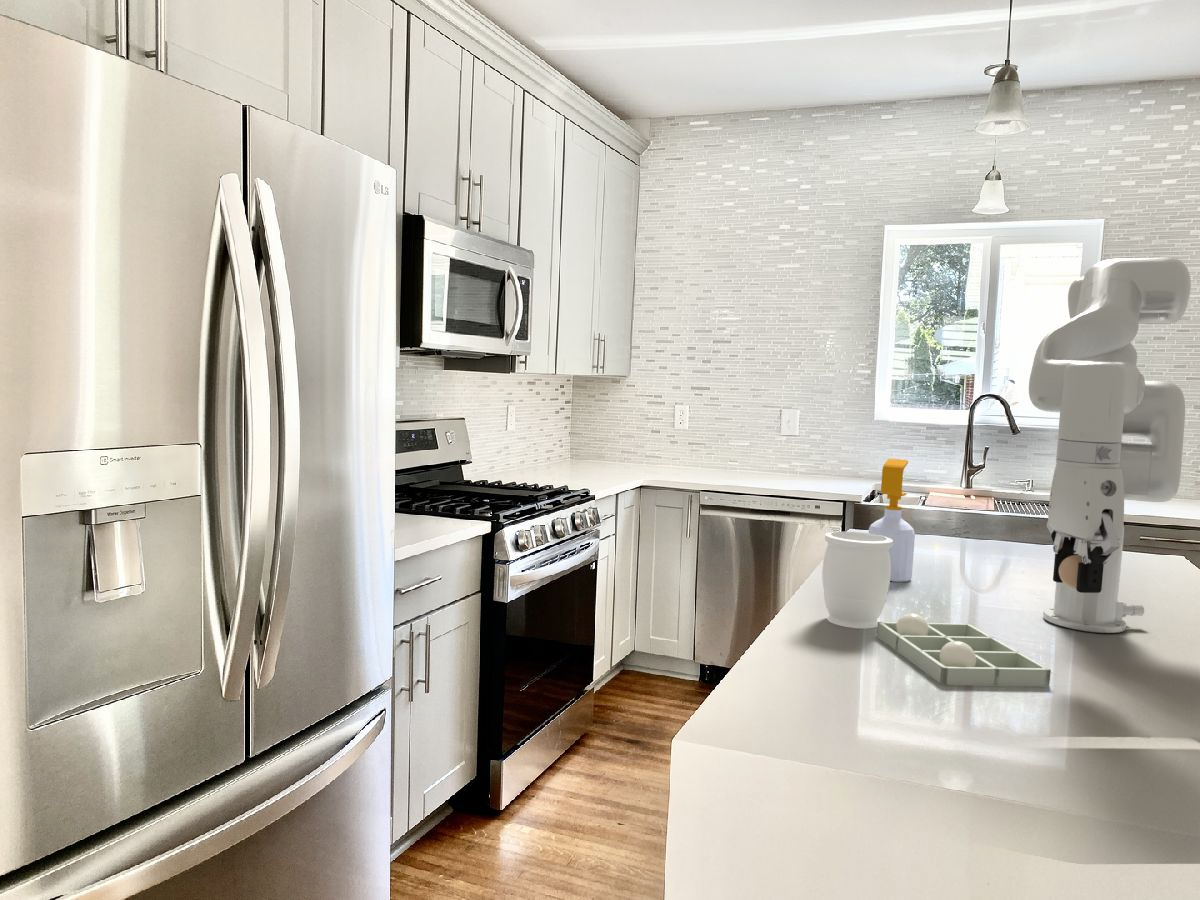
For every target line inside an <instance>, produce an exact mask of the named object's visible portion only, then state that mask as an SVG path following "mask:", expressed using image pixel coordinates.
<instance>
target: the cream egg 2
mask: <svg viewBox="0 0 1200 900" xmlns="http://www.w3.org/2000/svg"><path fill="white" fill-rule="evenodd" d="M939 660H940V663H941V664H943V665H944V666H946V667H975V665H976V655H975V653H974V651H973V649H972V648H971V647H970V646H969V645H967V644H966V643H964V642H961V641H952V642H949V643H947V644H945V645H944V646H943V647H942V649H941V651H940V654H939Z"/></svg>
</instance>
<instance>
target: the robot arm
mask: <svg viewBox="0 0 1200 900" xmlns="http://www.w3.org/2000/svg"><path fill="white" fill-rule="evenodd" d="M1190 276H1191V275H1190V271H1189V269H1188V267H1187V265H1186V264H1185V263H1184V262H1183V261H1182V260H1181V259H1180V260H1179V258H1178V259H1177V258H1174V257H1140V258H1138V257H1136V258H1134V257H1133V258H1112V259H1105V260H1102V261H1100V262H1097V263H1095V264H1094V265H1092V266H1091V267H1090V268H1089V269H1087V271H1086V273H1085V274H1084V275H1083V276H1081V277H1079V278H1076V279H1075V280H1074V281H1073V282H1072V283H1071V284H1070V286H1069V288H1068V289H1069V290H1068V295H1067V305H1068V314H1069V318H1070V319H1068V320H1067V321H1065V322H1063V323H1062V324H1060V325H1059V326H1057V327H1056V328H1054V329H1053V330H1051V331H1050V332H1049V333H1048V334H1047V335H1046V336H1045V337H1043V339H1042V340H1041V341H1040V343H1039V344H1038V347H1037V349H1036V351H1035V354H1034V358H1033V362H1032V366H1031V371H1030V376H1029V380H1028V395H1029V399H1030V401H1031V404H1032V405H1033V406H1034V407H1035V408H1036V409H1038V410H1039V411H1043V412H1047V413H1048V412H1051V413H1059V422H1058V430H1057V431H1058V434H1057V445H1056V455H1055V456H1056V458H1055V463H1056V464H1055V468H1054V472H1053V474H1052V475H1053V476H1052V482H1051V487H1050V493H1049V501H1048V512H1047V513H1048V514H1047V515H1048V516H1047V517H1048V518H1047V522H1046V528H1047V530H1048V532H1049V533H1050V535H1051V536H1050V537H1051V540H1052V542H1053V546H1052V551H1053V552H1054V563H1053V564H1054V565H1053V575H1052V581H1053V582H1055V591H1054V604H1053V607H1050V608H1047V609H1044V610H1043V615H1042V617H1043V619H1044V620H1046V621H1047V622H1048V623H1051V624H1054V625H1056V626H1060V627H1063V628H1067V629H1071V630H1077V631H1082V632H1089V633H1101V634H1117V633H1122V632H1124V631H1126V629H1127V623H1126V621H1125V620H1124V619H1123V618H1125V617H1127V616H1133V617H1135V616H1137V617H1142V616H1143V615H1144V614H1145V608H1144V605H1142V604H1127V603H1125V602H1124V601H1122V600H1119V591H1120V583H1121V582H1120V581H1121V580H1120V579H1121V571H1122V570H1121V569H1122V559H1123V558H1122V557H1123V547H1124V539H1125V525H1124V522H1125V521H1124V520H1125V519H1124V518H1125V501H1126V500H1127V501H1136V502H1149V503H1166V502H1169V501H1171V500H1172V499H1174V498H1175V496H1176V495H1177V493H1178V491H1179V489H1180V482H1181V474H1182V462H1183V461H1182V460H1183V449H1184V447H1183V446H1184V434H1185V421H1186V402H1185V401H1186V400H1185V396H1184V392H1183V390H1182V389H1181V388H1180V387H1179V385H1177V384H1175V383H1173V382H1168V381H1163V380H1145V377H1144V375H1143V374H1142V373H1141V371H1140V369H1139V368H1138V367H1137V364H1138V363H1137V362H1138V352H1137V349H1136V348H1135V346H1134V345H1133V344H1132V341H1134V339H1135V338H1136V336H1137V334H1138V331H1139V326H1140V325H1170V324H1175V323H1177V322H1178V321H1180V320H1181V319H1182V318H1183V316H1184V315H1185V313H1186V310H1187V308H1188V304H1189V299H1190V295H1191V290H1192V289H1191V288H1192V287H1191V285H1192V283H1191V282H1192V281H1191V277H1190ZM1125 436H1126V437H1140V438H1145V439H1147V440H1149V441H1150V444H1148V443H1131V442H1123V441H1122V439H1123V437H1125ZM1072 555H1080V556H1082V561H1083V562H1079V564H1078V575H1077V586H1076V589H1074V588H1071V587H1069V586H1067V585H1065V584H1064V583H1063V582H1062V580H1061V579H1060V576H1059V566H1060V564H1061V562H1062V561H1063V560H1064V559H1065V558H1067V557H1069V556H1072Z"/></svg>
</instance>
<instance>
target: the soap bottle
mask: <svg viewBox="0 0 1200 900" xmlns="http://www.w3.org/2000/svg"><path fill="white" fill-rule="evenodd" d="M908 464H909V460H908V459H899V458H898V459H897V458H888V459H887V460H886V461H885V463H884V464H883V466H882V469H881V470H882V471H881V483H880V484H881V485H880V494H882V495H887V497H886V498H887V499H888V500H889V503H888V504H889V505H884V514H883V517H881V518H880V519H877V520H875V521H874V522H873V523H871V524H870V525H869V527H868V533H869V534H875V535H880V536H884V537H888V538H891V539H892V540H893V541H892V542H893V544H892V546H891V547H890V548H889V550H888V552H889V555H890V563H891V576H890V581H892V583H904V582H909V581H911V580H912V579H913V565H914V554H915V553H914V552H915V551H914V550H915V539H916V533H915V529H914V528H913V526H912V525H911V524H910V523H908V522H907V521H905V520H904V519H903V518H902V512H903V511H902V509H903V507H902V506H901V505H900V506H899V500H900V501H901V500H902V497H904V496H907V492H903V478H904V472H905V471H904V470H905V468H906V467H907V465H908Z"/></svg>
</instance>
